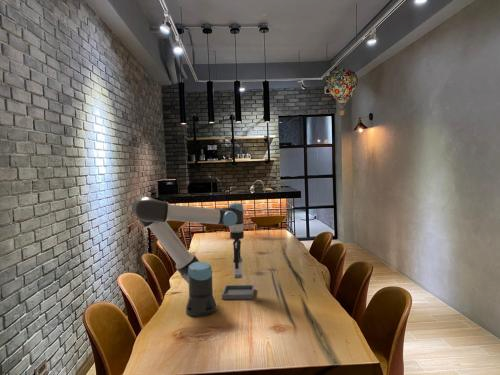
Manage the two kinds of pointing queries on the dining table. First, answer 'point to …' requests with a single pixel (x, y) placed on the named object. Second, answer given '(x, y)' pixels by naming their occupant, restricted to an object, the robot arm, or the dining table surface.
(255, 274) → the dining table surface
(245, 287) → the tray
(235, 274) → the shaker
